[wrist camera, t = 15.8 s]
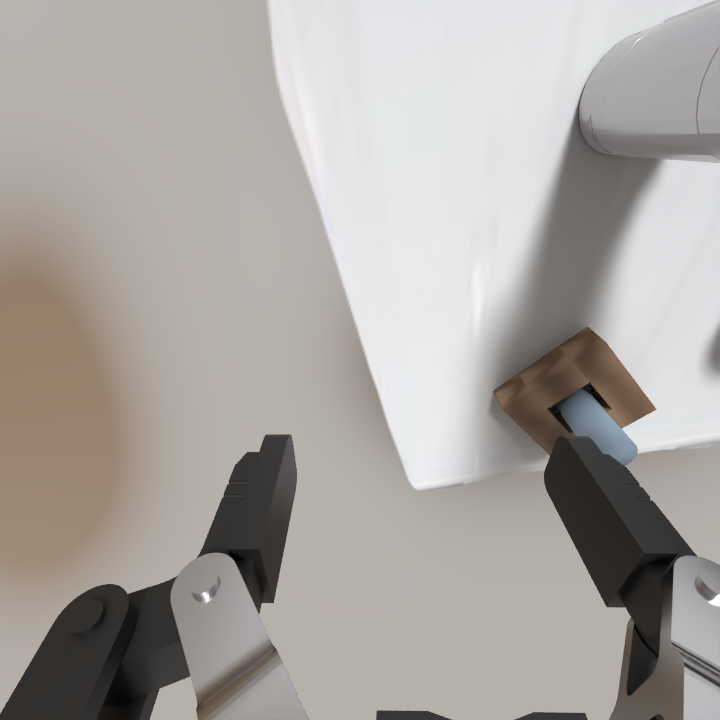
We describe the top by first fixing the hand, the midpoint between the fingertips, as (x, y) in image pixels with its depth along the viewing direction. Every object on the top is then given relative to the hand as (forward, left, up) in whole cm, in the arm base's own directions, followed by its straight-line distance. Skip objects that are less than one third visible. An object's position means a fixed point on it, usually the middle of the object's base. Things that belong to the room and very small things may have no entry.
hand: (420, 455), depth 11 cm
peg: (-3, +34, -33) cm, 48 cm away
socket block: (-3, +34, -33) cm, 48 cm away
